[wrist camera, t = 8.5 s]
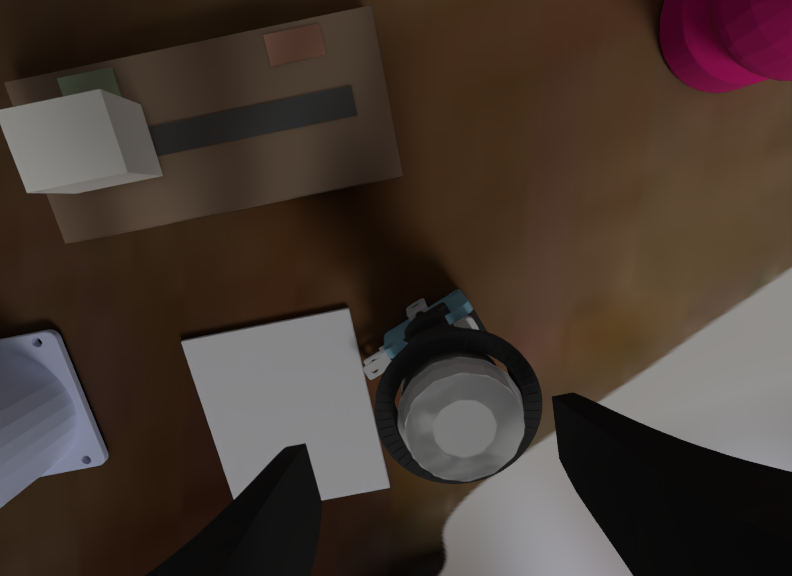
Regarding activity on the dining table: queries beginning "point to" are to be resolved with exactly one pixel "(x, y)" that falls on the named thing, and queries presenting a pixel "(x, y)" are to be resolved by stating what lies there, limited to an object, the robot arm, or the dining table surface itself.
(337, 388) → the parts mat
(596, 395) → the dining table surface
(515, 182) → the dining table surface
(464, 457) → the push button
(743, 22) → the pepper mill
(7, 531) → the dining table surface
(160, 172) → the switch tab
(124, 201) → the switch board
